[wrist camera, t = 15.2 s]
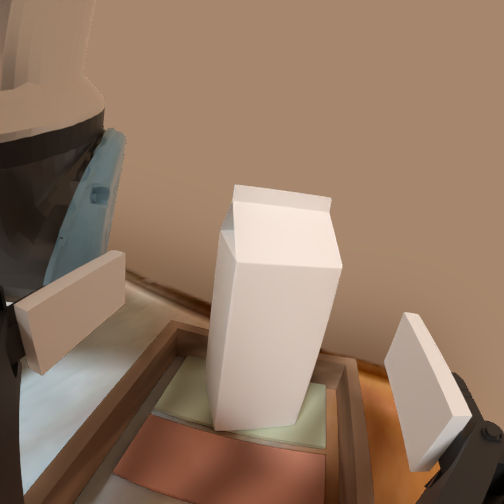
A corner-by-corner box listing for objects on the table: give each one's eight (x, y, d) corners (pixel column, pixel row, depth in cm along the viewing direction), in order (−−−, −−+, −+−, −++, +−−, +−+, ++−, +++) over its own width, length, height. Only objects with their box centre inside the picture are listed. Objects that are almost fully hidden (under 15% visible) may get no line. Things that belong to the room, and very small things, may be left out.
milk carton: (295, 426, 25) (356, 207, 19) (213, 432, 23) (246, 192, 17) (272, 377, 31) (312, 190, 26) (204, 378, 29) (226, 179, 24)
